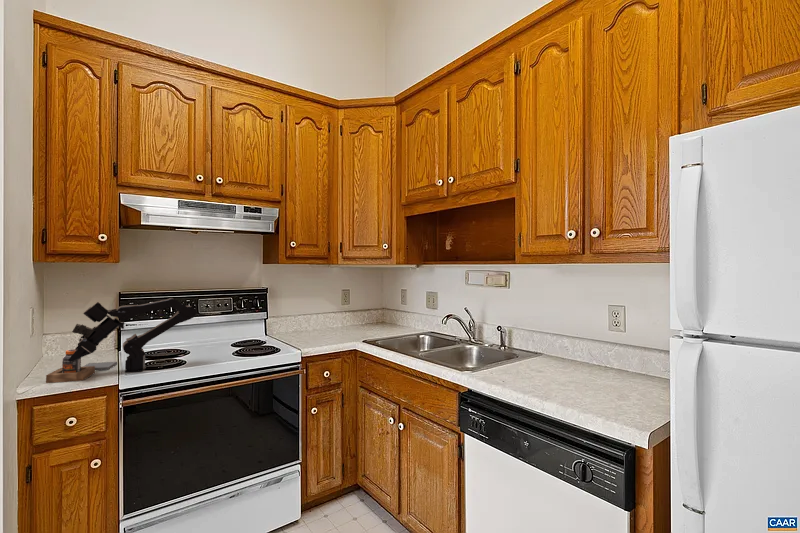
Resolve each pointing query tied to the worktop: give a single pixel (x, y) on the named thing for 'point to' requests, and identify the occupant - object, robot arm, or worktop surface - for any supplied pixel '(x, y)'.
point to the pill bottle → (70, 363)
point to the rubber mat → (102, 365)
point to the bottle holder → (70, 375)
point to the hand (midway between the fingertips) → (69, 358)
